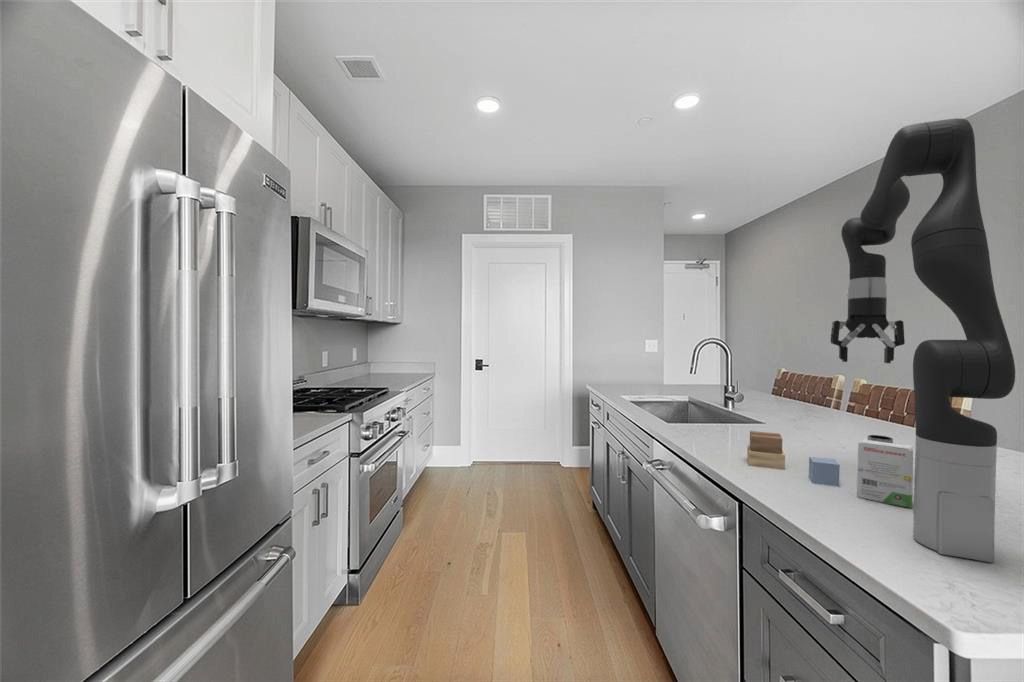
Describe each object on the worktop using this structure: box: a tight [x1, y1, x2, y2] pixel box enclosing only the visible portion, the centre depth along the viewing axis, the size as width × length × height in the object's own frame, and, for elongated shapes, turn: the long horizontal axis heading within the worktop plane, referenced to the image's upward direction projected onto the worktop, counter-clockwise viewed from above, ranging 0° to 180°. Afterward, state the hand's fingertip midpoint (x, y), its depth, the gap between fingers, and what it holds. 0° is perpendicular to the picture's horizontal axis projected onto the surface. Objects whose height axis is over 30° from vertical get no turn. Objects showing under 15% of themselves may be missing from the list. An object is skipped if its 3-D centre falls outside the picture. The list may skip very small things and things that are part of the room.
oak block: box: [746, 444, 786, 471], centre depth 117 cm, size 8×8×4 cm
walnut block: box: [749, 430, 783, 455], centre depth 117 cm, size 7×7×4 cm
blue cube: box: [808, 456, 841, 487], centre depth 103 cm, size 5×5×5 cm
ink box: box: [856, 439, 914, 509], centre depth 92 cm, size 8×5×12 cm, turn 44°
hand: (865, 362), depth 110 cm, fingers open, 8 cm apart
